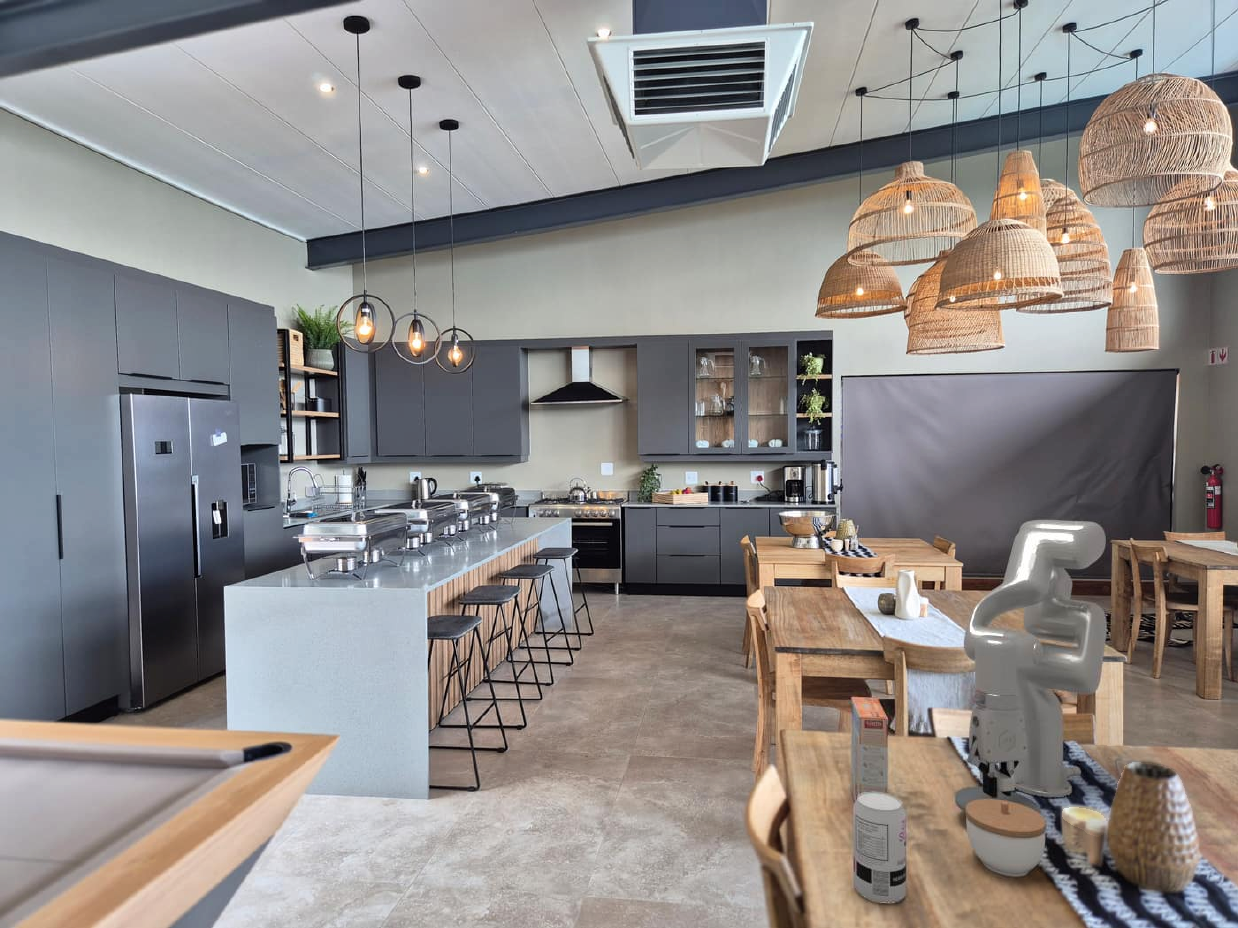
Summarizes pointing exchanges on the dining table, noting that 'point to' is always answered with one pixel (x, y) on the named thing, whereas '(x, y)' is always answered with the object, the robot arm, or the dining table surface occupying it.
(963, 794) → the lid
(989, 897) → the dining table surface
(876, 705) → the cracker box
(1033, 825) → the lidded bowl
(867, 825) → the supplement can
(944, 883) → the dining table surface
